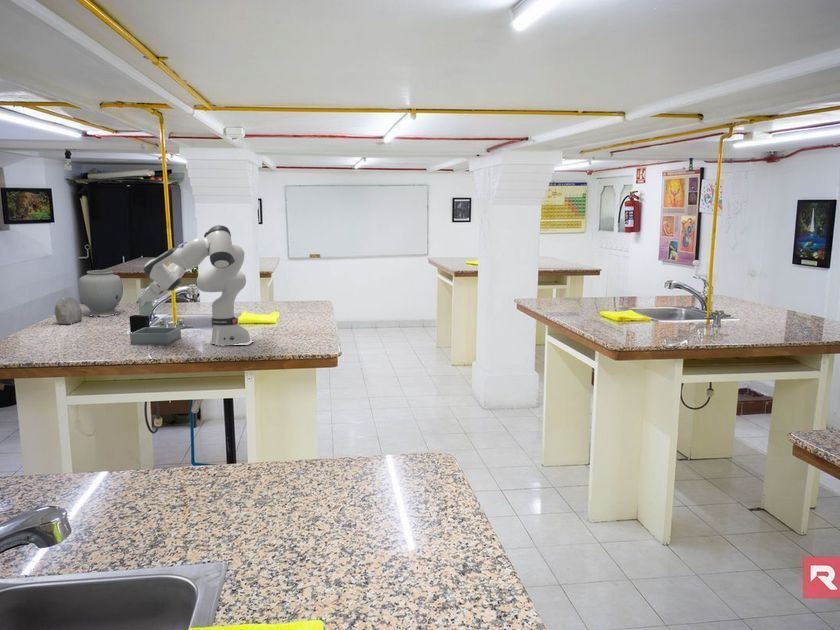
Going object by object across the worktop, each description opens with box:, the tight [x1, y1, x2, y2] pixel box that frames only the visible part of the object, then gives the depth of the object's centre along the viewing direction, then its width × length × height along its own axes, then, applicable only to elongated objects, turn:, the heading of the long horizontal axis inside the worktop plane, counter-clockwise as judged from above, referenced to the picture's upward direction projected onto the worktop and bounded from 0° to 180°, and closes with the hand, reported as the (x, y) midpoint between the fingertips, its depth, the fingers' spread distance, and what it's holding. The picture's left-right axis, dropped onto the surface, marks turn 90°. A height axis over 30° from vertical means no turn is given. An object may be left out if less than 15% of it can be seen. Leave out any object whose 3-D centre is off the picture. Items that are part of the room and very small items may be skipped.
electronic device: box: [128, 314, 151, 333], centre depth 373 cm, size 4×10×10 cm, turn 78°
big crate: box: [129, 326, 182, 346], centre depth 349 cm, size 20×18×6 cm
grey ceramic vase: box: [77, 269, 124, 316], centre depth 431 cm, size 27×27×30 cm
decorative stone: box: [54, 296, 83, 325], centre depth 403 cm, size 17×20×10 cm
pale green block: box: [137, 296, 153, 316], centre depth 340 cm, size 5×5×9 cm
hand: (144, 304), depth 340 cm, fingers closed on pale green block, 5 cm apart
